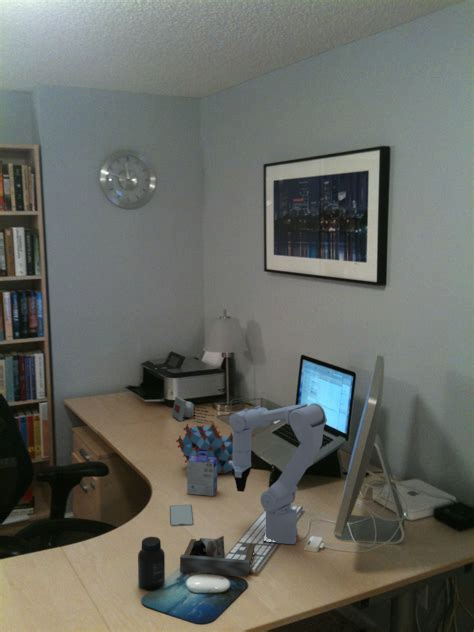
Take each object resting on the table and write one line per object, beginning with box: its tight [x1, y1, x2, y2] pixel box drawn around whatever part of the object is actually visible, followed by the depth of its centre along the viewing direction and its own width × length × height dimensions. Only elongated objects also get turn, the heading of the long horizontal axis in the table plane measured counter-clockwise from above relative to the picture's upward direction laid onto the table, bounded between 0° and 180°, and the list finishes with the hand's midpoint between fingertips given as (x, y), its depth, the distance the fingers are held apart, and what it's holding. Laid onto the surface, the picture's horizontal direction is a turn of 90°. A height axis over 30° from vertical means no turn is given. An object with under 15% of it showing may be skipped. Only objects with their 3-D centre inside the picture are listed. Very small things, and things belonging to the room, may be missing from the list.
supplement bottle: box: [137, 536, 166, 592], centre depth 167 cm, size 7×7×12 cm
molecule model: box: [175, 422, 233, 475], centre depth 246 cm, size 16×14×25 cm
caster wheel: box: [194, 535, 226, 558], centre depth 182 cm, size 7×11×10 cm
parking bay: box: [179, 538, 255, 578], centre depth 179 cm, size 18×14×4 cm
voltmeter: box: [171, 395, 217, 424], centre depth 311 cm, size 27×11×10 cm, turn 62°
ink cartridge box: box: [186, 451, 218, 497], centre depth 225 cm, size 10×6×14 cm, turn 78°
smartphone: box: [169, 504, 194, 527], centre depth 208 cm, size 7×1×15 cm
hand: (240, 490), depth 202 cm, fingers closed
